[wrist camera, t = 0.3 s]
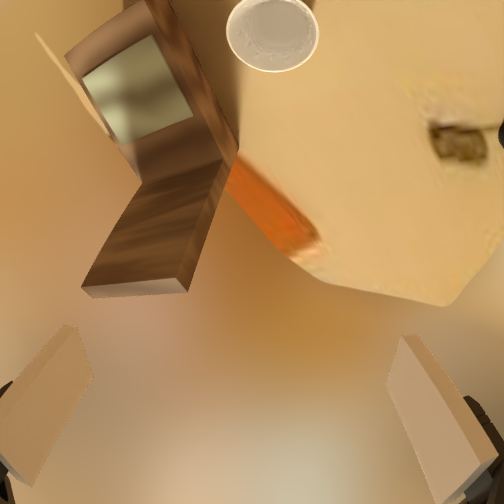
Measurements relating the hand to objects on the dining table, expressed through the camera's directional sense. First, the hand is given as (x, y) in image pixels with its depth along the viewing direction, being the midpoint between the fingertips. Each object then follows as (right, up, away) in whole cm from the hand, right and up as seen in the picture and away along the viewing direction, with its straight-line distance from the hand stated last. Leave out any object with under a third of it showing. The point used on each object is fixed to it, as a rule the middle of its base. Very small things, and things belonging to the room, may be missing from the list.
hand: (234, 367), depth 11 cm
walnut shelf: (-11, +26, +24) cm, 37 cm away
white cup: (+4, +30, +16) cm, 34 cm away
